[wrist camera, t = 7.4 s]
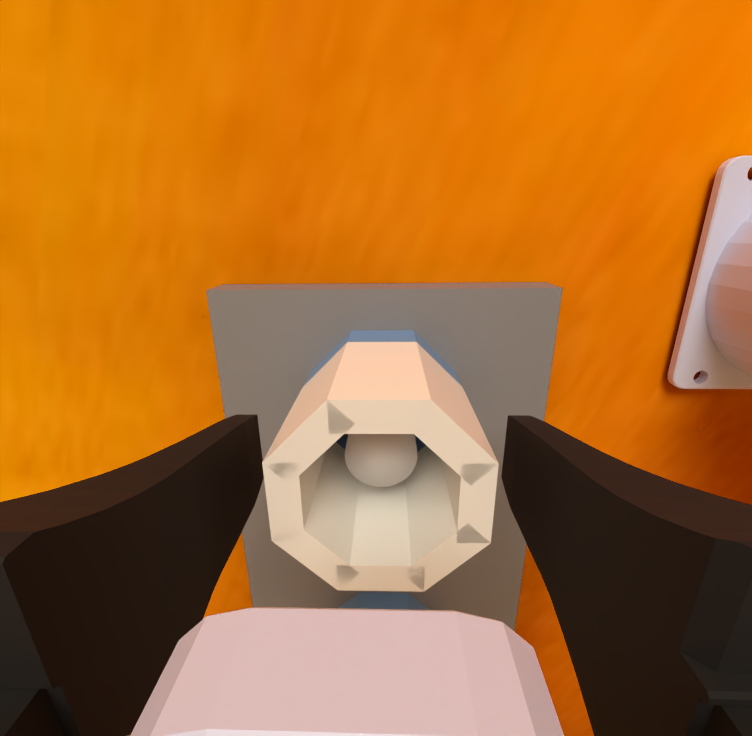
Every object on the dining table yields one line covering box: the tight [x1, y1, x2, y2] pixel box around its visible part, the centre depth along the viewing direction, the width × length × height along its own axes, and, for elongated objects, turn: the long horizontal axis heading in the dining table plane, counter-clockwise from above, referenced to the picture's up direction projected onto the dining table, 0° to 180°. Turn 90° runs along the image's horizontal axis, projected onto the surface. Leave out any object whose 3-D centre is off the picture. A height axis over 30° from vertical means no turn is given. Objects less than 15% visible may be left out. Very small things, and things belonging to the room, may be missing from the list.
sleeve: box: [262, 330, 499, 592], centre depth 12 cm, size 5×5×6 cm
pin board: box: [206, 282, 563, 631], centre depth 16 cm, size 12×20×6 cm, turn 1°
